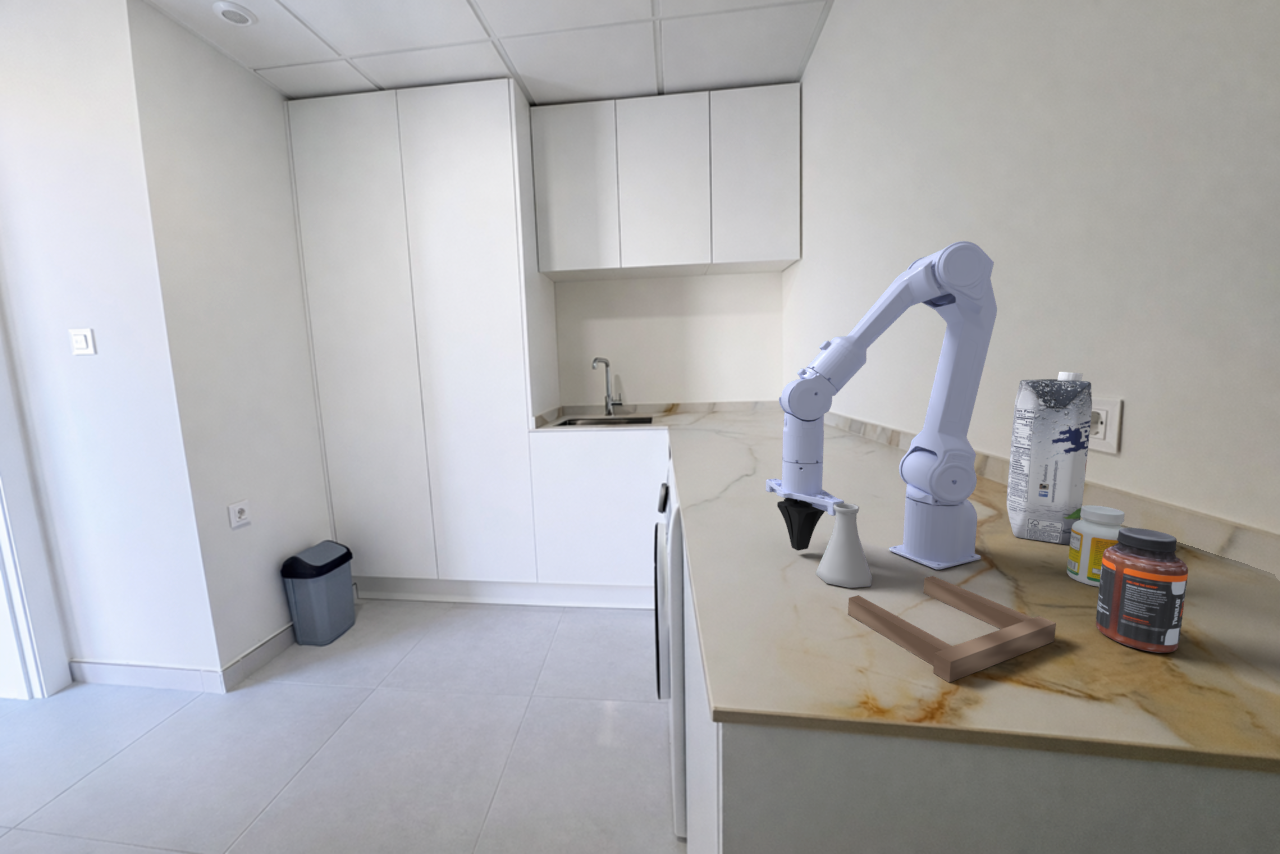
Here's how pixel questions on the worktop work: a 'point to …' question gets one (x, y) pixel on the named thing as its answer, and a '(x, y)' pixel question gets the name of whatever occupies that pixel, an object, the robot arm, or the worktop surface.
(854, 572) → the flask
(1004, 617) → the walnut bay
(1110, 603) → the supplement bottle
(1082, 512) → the supplement bottle
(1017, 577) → the worktop surface
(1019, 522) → the juice carton
